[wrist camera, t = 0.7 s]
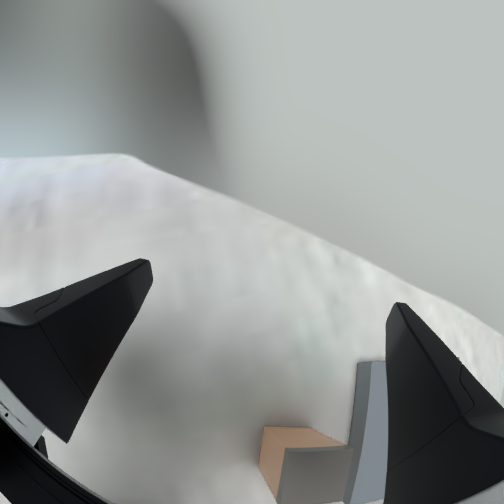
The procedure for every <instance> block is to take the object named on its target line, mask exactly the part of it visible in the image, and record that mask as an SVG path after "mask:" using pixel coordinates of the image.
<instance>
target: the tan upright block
mask: <svg viewBox="0 0 504 504" xmlns="http://www.w3.org/2000/svg"><path fill="white" fill-rule="evenodd" d="M353 449H354V448H352V447H350V446H347V445H345V444H343V443H341V442H339V441H337V440H335V439H332V438H330V437H328V436H326V435H324V434H322V433H320V432H318V431H316V430H314V429H313V428H311V427H273V426H264V430H263V437H262V444H261V451H260V458H259V464H258V468H259V470H260V472H261V474H262V476H263V477H264V479H265V481H266V483H267V485H268V487H269V489H270V491H271V493H272V494H273V496H274V498H275V500H276V502H277V503H278V504H325V503H332V502H339V501H343V497H344V493H345V488H346V484H347V480H348V475H349V470H350V465H351V460H352V455H353Z"/></svg>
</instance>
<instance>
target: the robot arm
mask: <svg viewBox="0 0 504 504" xmlns="http://www.w3.org/2000/svg"><path fill="white" fill-rule="evenodd" d="M152 283H153V275H152V269H151V264H150V261H149V260H146V259H141V258H140V259H136V260H134V261H131V262H128V263H126V264H123V265H120V266H118V267H115V268H112V269H110V270H107V271H105V272H102V273H99V274H97V275H94V276H92V277H89V278H86V279H84V280H81V281H79V282H76V283H74V284H71V285H69V286H66V287H65V288H61V289H59V290H56V291H54V292H51V293H49V294H46V295H43V296H40V297H38V298H35V299H32V300H29V301H26V302H23V303H20V304H17V305H14V306H11V307H0V492H1V493H2V494H3V495H4V496H5V497H6V498H7V499H8V500H9V501H10V502H11V504H114V503H112V502H110V501H109V500H107V499H105V498H103V497H102V496H100V495H98V494H97V493H95V492H93V491H92V490H90V489H89V488H87V487H86V486H84V485H83V484H81V483H80V482H78V481H77V480H75V479H74V478H72V477H71V476H69V475H68V474H67V473H65V472H64V471H63V470H61V469H60V468H59V467H57V466H56V465H55V464H54V463H52V462H51V461H50V460H49V459H48V455H47V450H46V445H45V439H44V437H43V436H42V433H43V431H44V430H45V428H47V429H48V430H49V431H50V432H52V433H53V434H54V435H56V436H57V437H58V438H60V439H61V440H62V441H64V442H65V443H68V442H69V440H70V438H71V436H72V433H73V431H74V429H75V427H76V425H77V423H78V421H79V419H80V417H81V415H82V413H83V411H84V409H85V407H86V405H87V403H88V401H89V399H90V397H91V395H92V393H93V391H94V389H95V387H96V386H97V384H98V382H99V380H100V378H101V376H102V375H103V373H104V371H105V369H106V367H107V365H108V364H109V362H110V360H111V358H112V357H113V355H114V353H115V351H116V350H117V348H118V346H119V344H120V343H121V341H122V339H123V338H124V336H125V334H126V333H127V331H128V329H129V327H130V326H131V324H132V323H133V321H134V319H135V317H136V316H137V314H138V312H139V310H140V308H141V306H142V304H143V302H144V300H145V298H146V295H147V293H148V291H149V289H150V287H151V285H152ZM386 378H387V396H388V457H387V472H386V485H385V495H384V503H383V504H504V408H503V407H502V406H501V405H500V404H499V403H498V402H497V401H496V400H495V399H494V397H493V396H492V395H491V394H490V393H489V392H488V391H487V390H486V389H485V388H484V387H483V386H482V385H481V384H480V383H479V382H478V381H477V380H476V378H475V377H474V376H473V375H472V374H471V373H470V372H469V371H468V369H467V368H466V367H465V366H464V365H463V364H462V362H461V361H460V360H459V359H458V358H457V357H456V356H455V355H454V353H453V352H452V351H451V350H450V349H449V348H448V347H447V346H446V345H445V344H444V342H443V341H442V340H441V339H440V338H439V337H438V336H437V335H436V334H435V333H434V332H433V331H432V330H431V329H430V327H429V326H428V325H427V324H426V323H425V322H424V321H423V320H422V319H421V318H420V317H419V316H418V315H417V314H416V313H415V312H414V311H413V310H412V309H411V308H410V307H409V306H408V305H407V304H406V303H400V302H396V303H395V304H394V305H393V307H392V309H391V312H390V314H389V316H388V318H387V321H386Z"/></svg>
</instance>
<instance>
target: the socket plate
mask: <svg viewBox="0 0 504 504" xmlns="http://www.w3.org/2000/svg"><path fill="white" fill-rule="evenodd" d="M457 358H458V359H459V357H457ZM348 446H350V447H352V448H354V449H353V455H352V460H351V465H350V470H349V475H348V480H347V484H346V488H345V493H344V497H343V502H344V503H345V504H364V503H369V502H373V501H377V500H380V499H384V495H385V485H386V472H387V457H388V396H387V378H386V361H371V362H364V363H358V366H357V379H356V390H355V400H354V409H353V417H352V425H351V432H350V438H349V445H348Z"/></svg>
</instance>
